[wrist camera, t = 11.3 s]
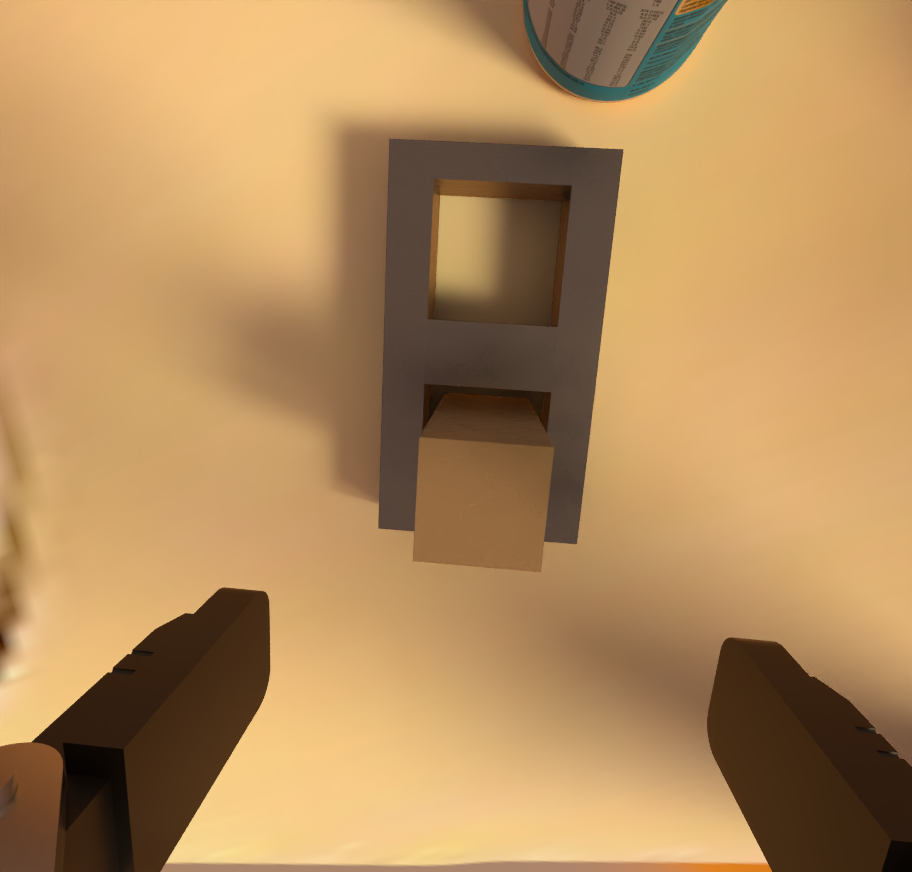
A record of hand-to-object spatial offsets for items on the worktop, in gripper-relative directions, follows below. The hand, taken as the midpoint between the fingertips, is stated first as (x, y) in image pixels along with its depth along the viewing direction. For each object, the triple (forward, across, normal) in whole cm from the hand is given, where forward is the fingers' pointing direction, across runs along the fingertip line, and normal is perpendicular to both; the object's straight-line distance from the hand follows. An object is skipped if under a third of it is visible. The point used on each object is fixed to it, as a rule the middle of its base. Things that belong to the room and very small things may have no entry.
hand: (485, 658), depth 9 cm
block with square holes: (+19, 0, -4) cm, 20 cm away
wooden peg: (+19, 0, 0) cm, 19 cm away
